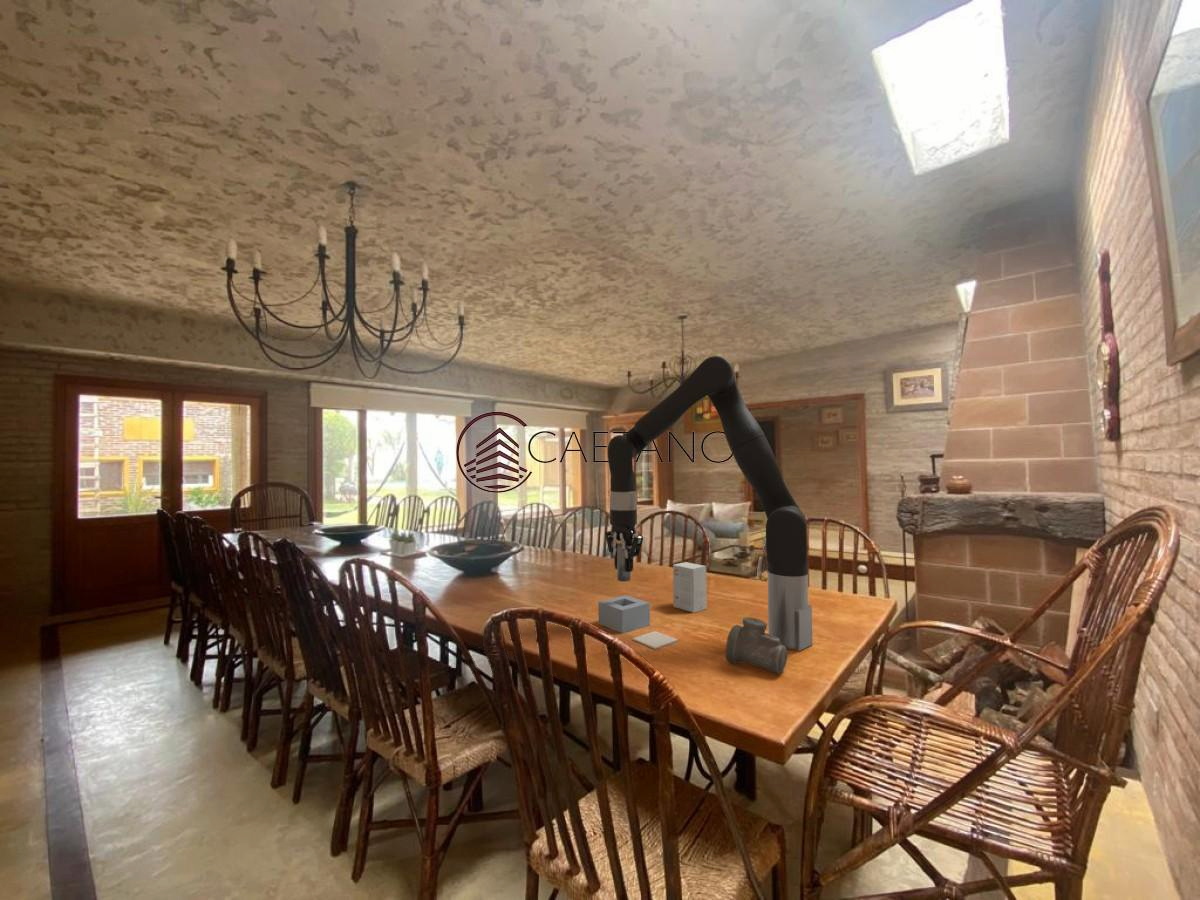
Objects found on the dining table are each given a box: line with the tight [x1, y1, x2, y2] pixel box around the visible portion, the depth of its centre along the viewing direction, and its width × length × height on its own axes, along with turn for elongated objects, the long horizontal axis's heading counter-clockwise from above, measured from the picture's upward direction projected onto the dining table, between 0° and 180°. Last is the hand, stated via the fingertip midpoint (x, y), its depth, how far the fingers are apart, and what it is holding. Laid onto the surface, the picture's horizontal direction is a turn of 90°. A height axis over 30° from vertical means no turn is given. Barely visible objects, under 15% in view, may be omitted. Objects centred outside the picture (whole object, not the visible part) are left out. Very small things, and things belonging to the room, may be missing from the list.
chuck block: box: [597, 595, 651, 634], centre depth 134 cm, size 10×10×6 cm
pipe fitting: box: [724, 616, 788, 675], centre depth 106 cm, size 12×8×10 cm
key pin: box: [616, 540, 631, 582], centre depth 134 cm, size 4×4×11 cm
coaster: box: [632, 630, 679, 650], centre depth 121 cm, size 8×8×1 cm
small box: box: [672, 561, 708, 614], centre depth 148 cm, size 8×6×13 cm
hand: (623, 569), depth 134 cm, fingers closed on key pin, 3 cm apart
